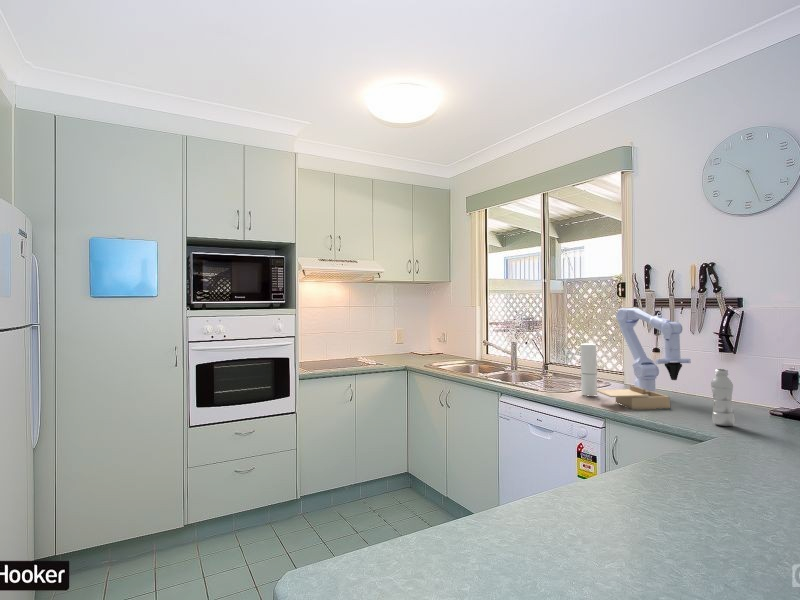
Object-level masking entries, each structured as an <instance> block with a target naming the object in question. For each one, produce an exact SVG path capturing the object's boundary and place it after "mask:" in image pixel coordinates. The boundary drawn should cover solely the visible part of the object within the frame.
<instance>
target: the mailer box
mask: <svg viewBox="0 0 800 600" xmlns="http://www.w3.org/2000/svg"><path fill="white" fill-rule="evenodd" d="M645 392H646V394H647V395H649V397H615V403H616V402H617V403H616V404H618V403H620V404H622V405H621V406H623V405H624V406H623V407H625V406H626V407H625V408H627V407H628V409H630V408H631V409H630V410H632V409H635V410H657V409H656V408H670V409H671V404H670V403H671V400H670V397H671V396H668V395H665V394H662V393H658V392H653V391H645ZM620 404H619V405H620Z"/></svg>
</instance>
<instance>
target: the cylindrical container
mask: <svg viewBox="0 0 800 600" xmlns="http://www.w3.org/2000/svg"><path fill="white" fill-rule="evenodd" d="M579 346H580V347H579V348H580V375H581V376H580V378H581V379H580V381H581V382H580V384H581V385H580V386H581V388H580V389H581V395H582V394H583V395H589V396H594V395H597V396H598V392H596V390H598V374H597V373H598V370H597V369H598V367H597V361H598V360H597V344H596V343H580V345H579Z"/></svg>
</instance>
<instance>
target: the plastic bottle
mask: <svg viewBox="0 0 800 600" xmlns="http://www.w3.org/2000/svg"><path fill="white" fill-rule="evenodd" d="M714 375H715V376H714V378H713V379H712V381H710V387H711V392H712V398H713V400H712V401H713V406H712V409H713V410H712V416H711V419H712V422H713V423H714V425H717V426H722V427H730V426H731V427H732V426H734V424H735V419H736V417H735V414H734V409H733V403H732V402H733V391H734V389H733V388H734V384H733V382H732V381H731V379H730V378H729V377H728V375H729V370H728V369H726V368H725V369H724V368H723V369H721V368H717V369H715V372H714Z"/></svg>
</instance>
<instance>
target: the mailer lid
mask: <svg viewBox="0 0 800 600" xmlns="http://www.w3.org/2000/svg"><path fill="white" fill-rule="evenodd" d="M596 392H597V393H599V394H602V395H604V396H606V397H610V398H616V397H649V395H647V394H646V392H645V389H642V388H639V387H636V386H635V385H630V386H629V388H627V389H626V388H625V389H624V388H623V389H621V388H620V389H597V390H596Z"/></svg>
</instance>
